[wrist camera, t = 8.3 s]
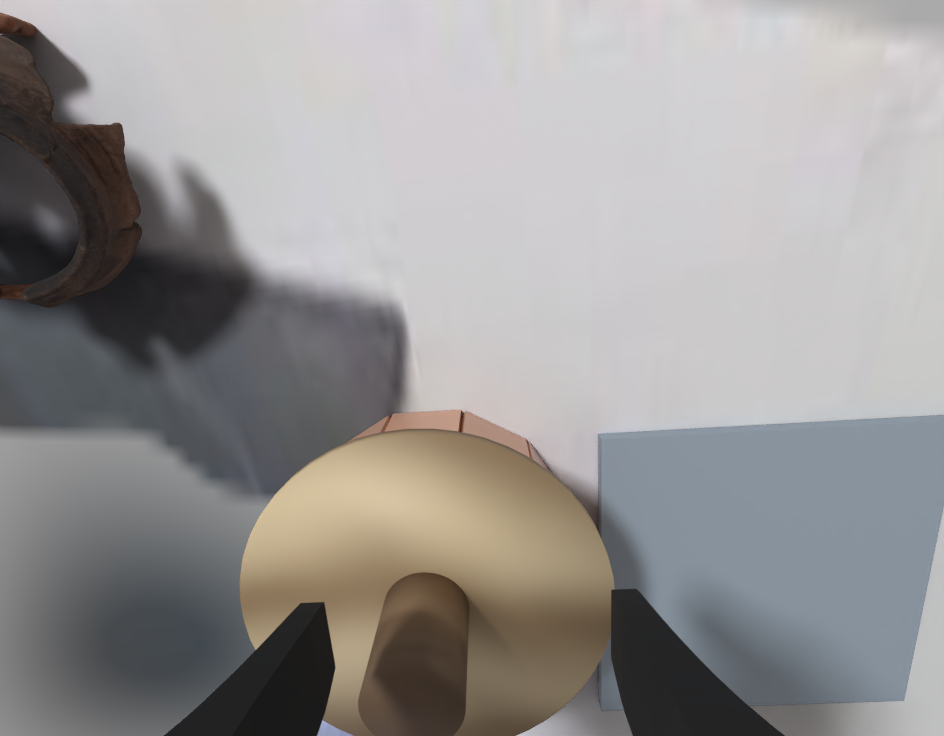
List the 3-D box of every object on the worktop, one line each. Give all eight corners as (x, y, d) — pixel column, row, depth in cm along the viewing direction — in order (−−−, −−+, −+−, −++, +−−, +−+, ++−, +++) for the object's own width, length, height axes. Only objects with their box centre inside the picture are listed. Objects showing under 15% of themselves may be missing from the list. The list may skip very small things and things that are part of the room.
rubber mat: (894, 690, 25) (903, 700, 25) (598, 700, 26) (601, 710, 25) (948, 414, 21) (961, 419, 21) (598, 433, 22) (601, 439, 22)
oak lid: (612, 729, 21) (648, 865, 16) (283, 743, 21) (230, 878, 17) (609, 414, 17) (653, 478, 13) (211, 442, 18) (120, 513, 13)
